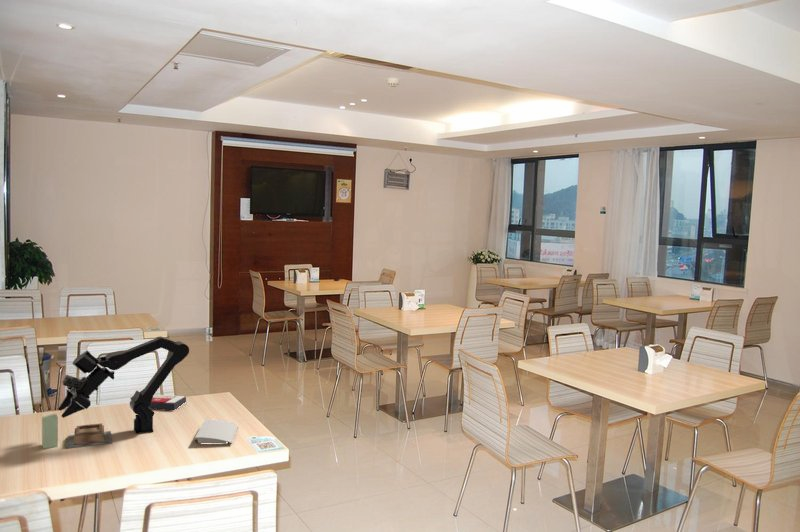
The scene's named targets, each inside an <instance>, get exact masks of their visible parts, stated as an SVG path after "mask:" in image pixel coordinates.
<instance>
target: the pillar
mask: <svg viewBox="0 0 800 532" xmlns="http://www.w3.org/2000/svg"><path fill="white" fill-rule="evenodd" d="M58 426H59V419H58V415H57V413H52V414H46V415H45V414H44V415H41V446H42V449H44V450H45V449H51V448H57V447H58V446H59V443H58V442H59V440H58V439H59V438H58V436H59V432H58V431H59V430H58V429H59V428H58Z"/></svg>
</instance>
